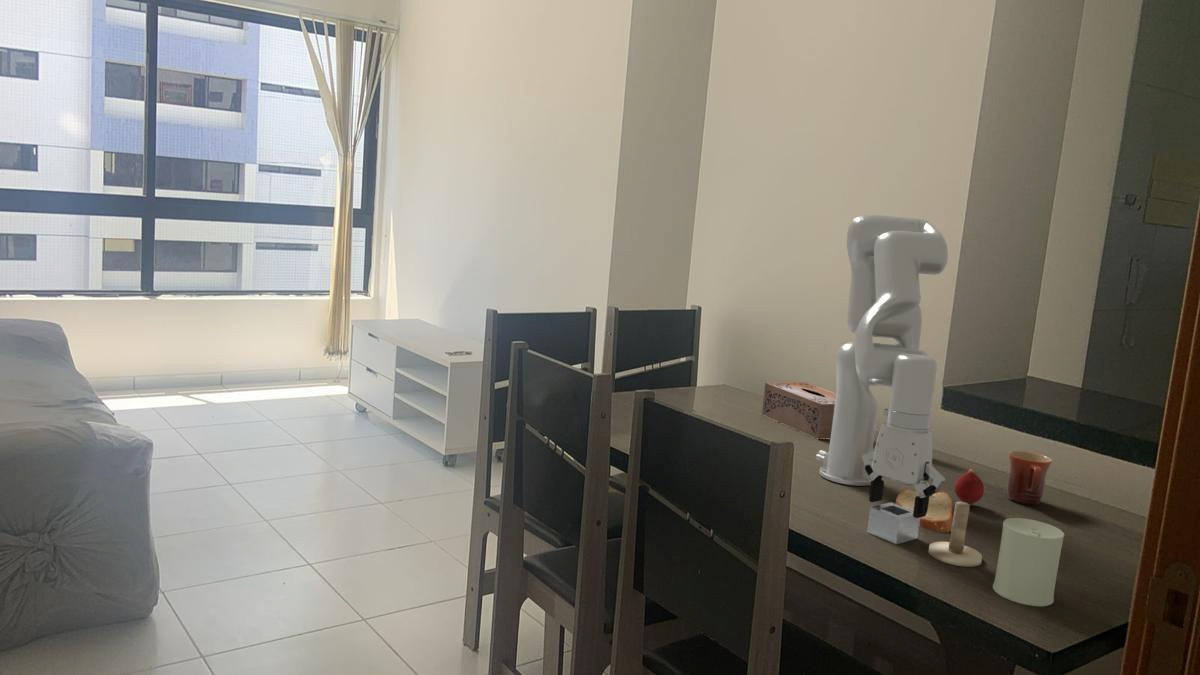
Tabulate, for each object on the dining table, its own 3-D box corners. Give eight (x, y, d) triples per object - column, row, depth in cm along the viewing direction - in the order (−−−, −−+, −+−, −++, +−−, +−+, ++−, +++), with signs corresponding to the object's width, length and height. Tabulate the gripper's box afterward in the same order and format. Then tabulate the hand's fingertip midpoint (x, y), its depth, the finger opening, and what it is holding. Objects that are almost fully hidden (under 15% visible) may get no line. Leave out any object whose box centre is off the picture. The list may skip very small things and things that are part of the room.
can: (993, 598, 146) (1005, 528, 144) (991, 577, 154) (1001, 511, 152) (1056, 611, 142) (1068, 540, 141) (1050, 589, 151) (1061, 522, 149)
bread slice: (937, 535, 174) (940, 517, 173) (866, 505, 189) (868, 488, 188) (994, 524, 183) (997, 506, 183) (921, 496, 198) (924, 479, 198)
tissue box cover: (761, 416, 262) (765, 382, 260) (801, 414, 268) (805, 382, 266) (817, 441, 239) (822, 404, 237) (859, 438, 245) (864, 403, 243)
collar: (866, 532, 171) (870, 507, 171) (887, 526, 175) (891, 502, 175) (896, 544, 166) (899, 518, 165) (917, 538, 170) (920, 513, 169)
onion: (981, 504, 194) (987, 469, 193) (980, 511, 189) (986, 475, 188) (953, 498, 197) (958, 463, 196) (951, 506, 192) (956, 470, 190)
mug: (998, 492, 205) (1004, 448, 203) (1039, 497, 203) (1046, 453, 201) (1010, 509, 193) (1018, 463, 191) (1054, 514, 191) (1062, 468, 190)
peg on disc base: (918, 551, 163) (926, 499, 162) (946, 543, 169) (954, 492, 167) (963, 570, 156) (971, 515, 155) (991, 561, 162) (999, 508, 160)
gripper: (857, 411, 172) (847, 497, 174) (938, 432, 158) (925, 526, 160) (881, 409, 176) (871, 493, 178) (961, 429, 162) (949, 520, 165)
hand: (896, 508), depth 169 cm, fingers open, 9 cm apart
